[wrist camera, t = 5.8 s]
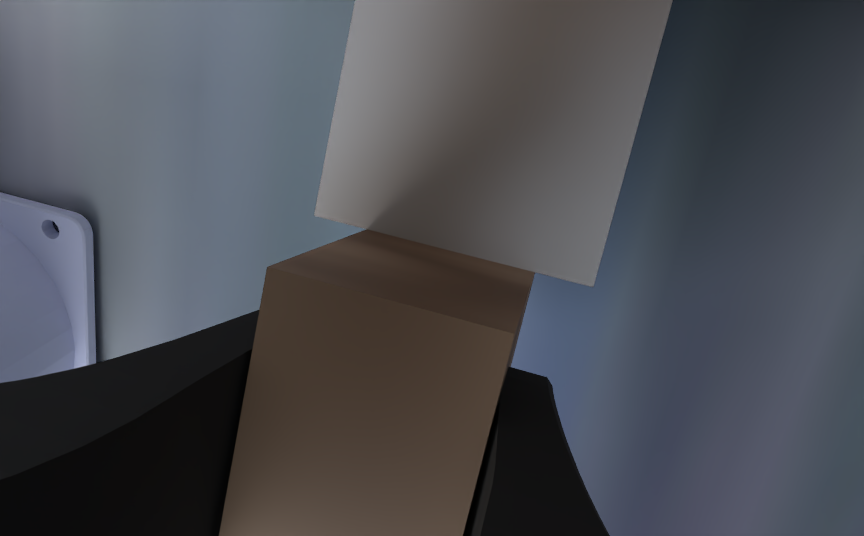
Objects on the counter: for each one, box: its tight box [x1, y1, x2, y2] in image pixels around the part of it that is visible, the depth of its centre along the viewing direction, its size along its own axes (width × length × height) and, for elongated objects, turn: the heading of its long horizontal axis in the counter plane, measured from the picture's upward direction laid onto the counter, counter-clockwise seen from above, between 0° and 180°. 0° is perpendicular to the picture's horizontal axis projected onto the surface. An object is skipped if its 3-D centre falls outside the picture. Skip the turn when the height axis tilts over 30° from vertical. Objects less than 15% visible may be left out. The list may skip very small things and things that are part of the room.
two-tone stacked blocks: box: [219, 0, 673, 536], centre depth 10 cm, size 5×12×5 cm, turn 170°
